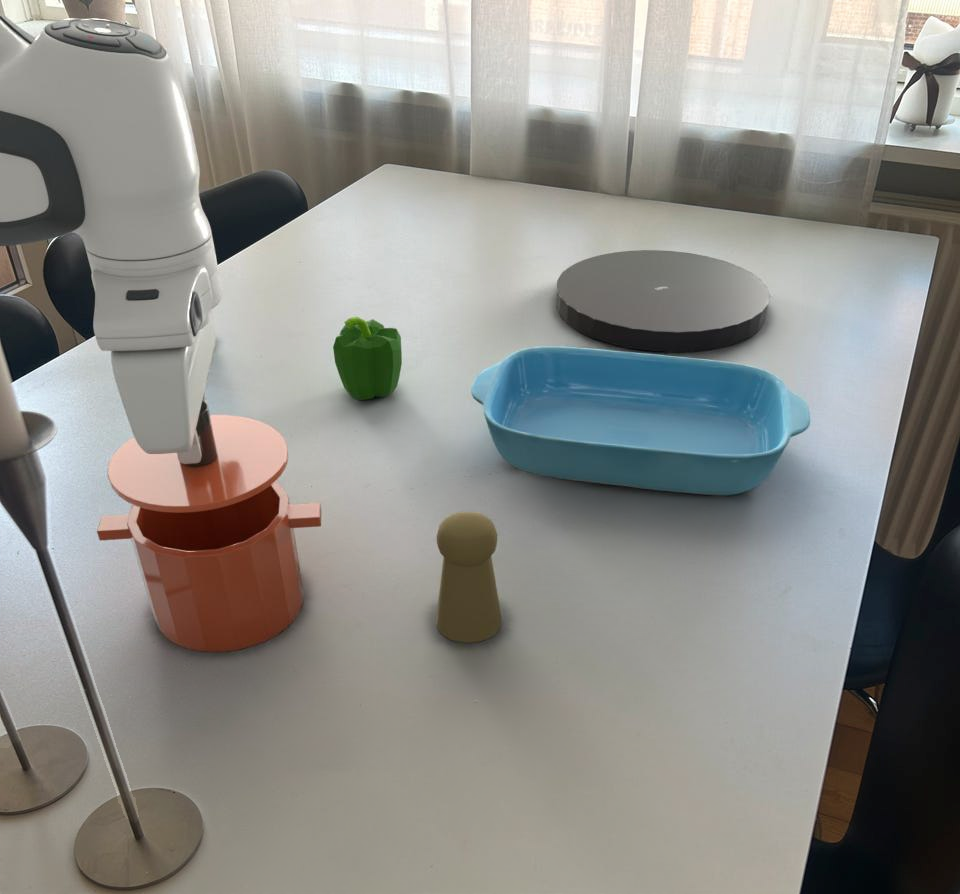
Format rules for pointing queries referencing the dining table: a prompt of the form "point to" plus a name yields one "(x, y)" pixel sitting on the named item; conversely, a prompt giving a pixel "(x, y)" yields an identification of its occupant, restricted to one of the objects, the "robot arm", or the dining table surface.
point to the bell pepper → (368, 358)
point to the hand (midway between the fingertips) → (195, 445)
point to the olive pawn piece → (467, 578)
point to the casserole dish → (639, 418)
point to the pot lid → (202, 467)
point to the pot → (220, 568)
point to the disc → (662, 300)
